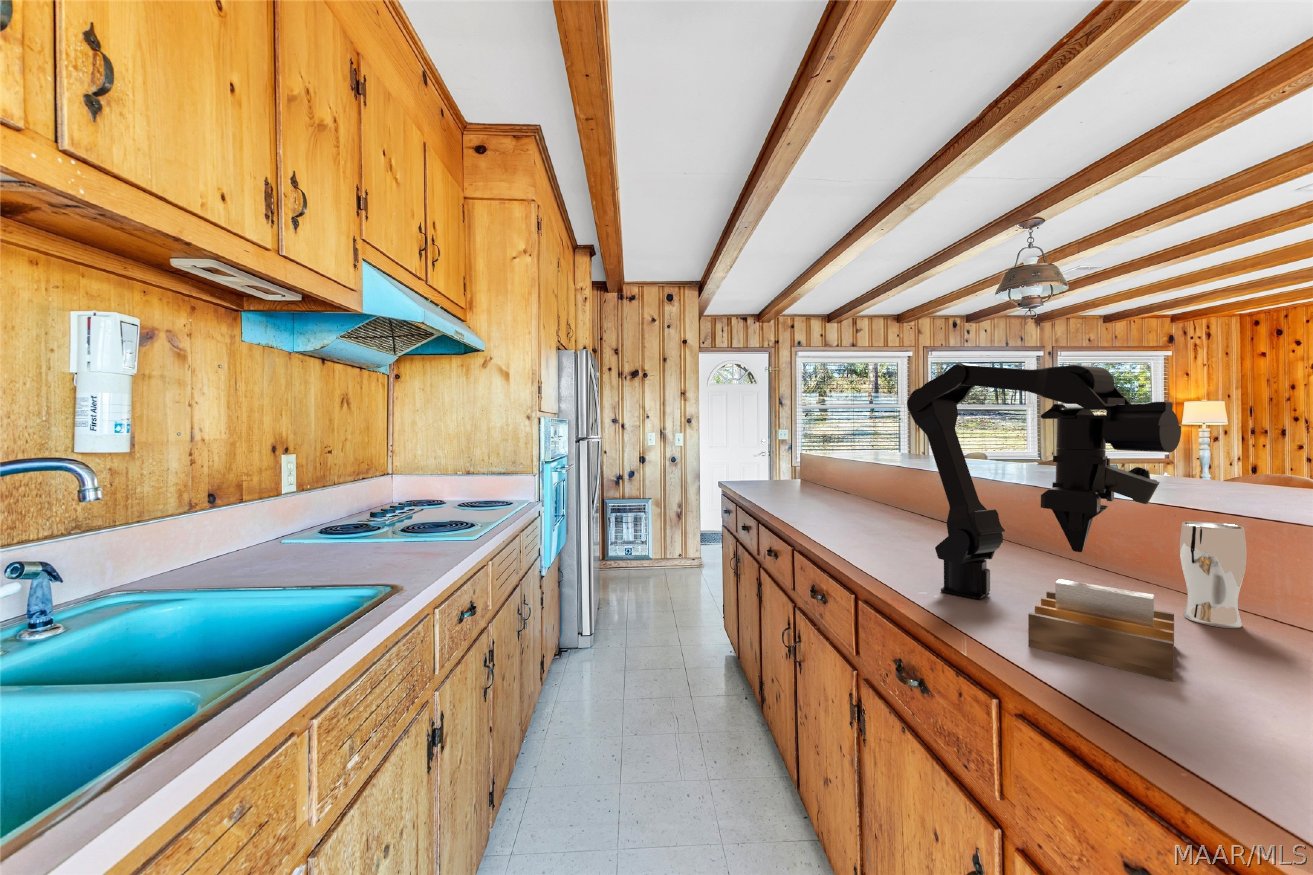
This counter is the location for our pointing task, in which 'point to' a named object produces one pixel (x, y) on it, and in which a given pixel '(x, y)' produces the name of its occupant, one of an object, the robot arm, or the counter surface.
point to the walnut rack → (1104, 639)
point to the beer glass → (1213, 571)
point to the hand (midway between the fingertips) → (1077, 551)
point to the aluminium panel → (1105, 602)
